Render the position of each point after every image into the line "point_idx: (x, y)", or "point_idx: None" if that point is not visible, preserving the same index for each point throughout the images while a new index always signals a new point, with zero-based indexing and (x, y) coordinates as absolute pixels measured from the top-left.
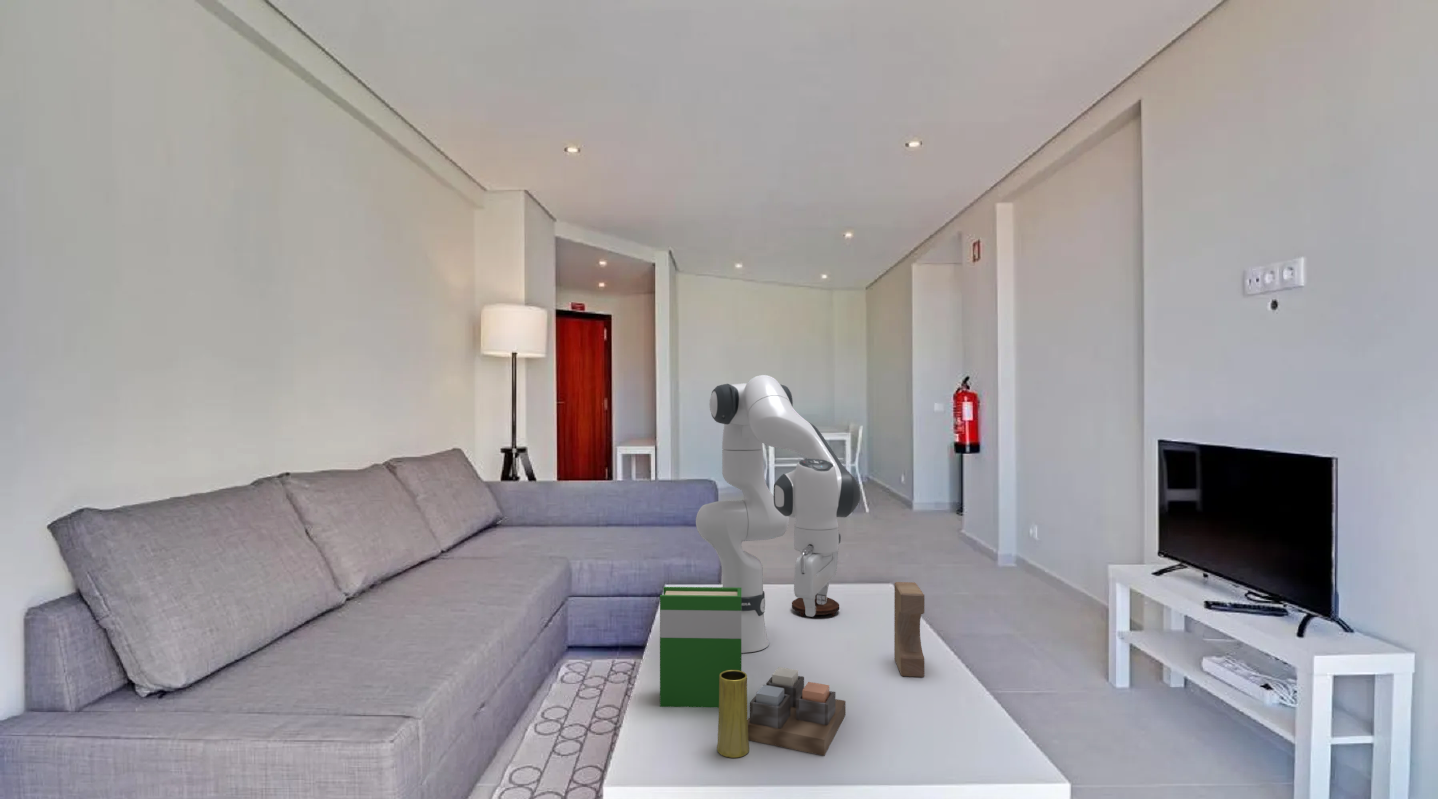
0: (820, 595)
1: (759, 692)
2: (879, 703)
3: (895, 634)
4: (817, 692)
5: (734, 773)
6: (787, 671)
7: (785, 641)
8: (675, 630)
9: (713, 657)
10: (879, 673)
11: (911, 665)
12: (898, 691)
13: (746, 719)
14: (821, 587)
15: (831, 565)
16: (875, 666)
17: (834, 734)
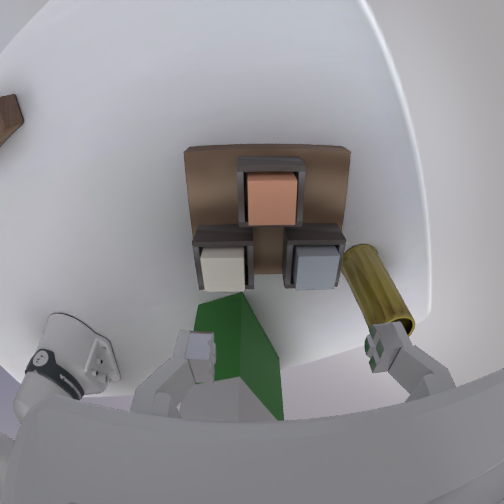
0: (205, 373)
1: (329, 285)
2: (119, 110)
3: None
4: (295, 194)
5: (406, 242)
6: (217, 273)
7: (34, 298)
8: None
9: (257, 373)
10: (29, 154)
11: (8, 112)
12: (66, 102)
13: (378, 271)
14: (404, 415)
15: (120, 495)
16: (16, 169)
17: (275, 144)
